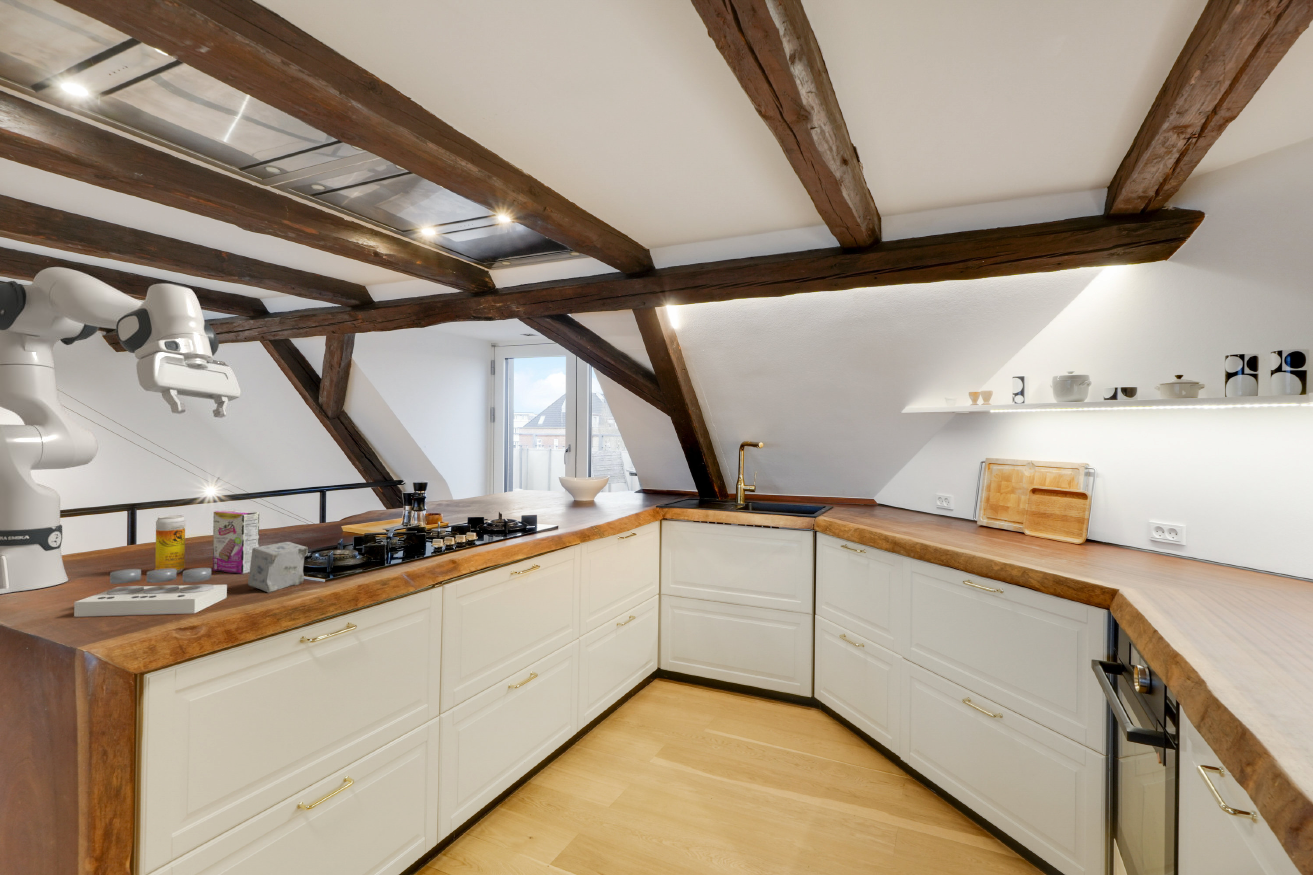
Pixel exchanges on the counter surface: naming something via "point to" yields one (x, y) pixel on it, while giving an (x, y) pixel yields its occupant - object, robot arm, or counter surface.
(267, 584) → the grey stone block
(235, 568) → the candy bar box
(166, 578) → the button three
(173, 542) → the beer can
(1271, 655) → the counter surface
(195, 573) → the button one
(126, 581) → the button two
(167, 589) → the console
